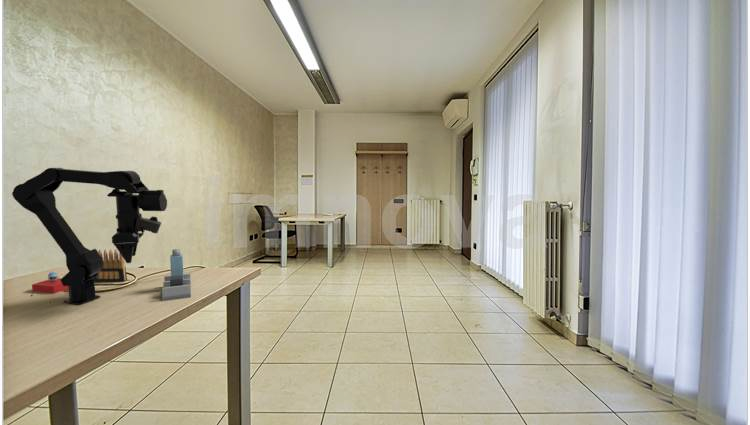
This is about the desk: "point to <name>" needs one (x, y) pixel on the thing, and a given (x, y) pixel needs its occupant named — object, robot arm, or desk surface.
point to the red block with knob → (49, 285)
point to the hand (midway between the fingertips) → (131, 259)
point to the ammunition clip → (112, 268)
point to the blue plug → (176, 263)
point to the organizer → (176, 287)
